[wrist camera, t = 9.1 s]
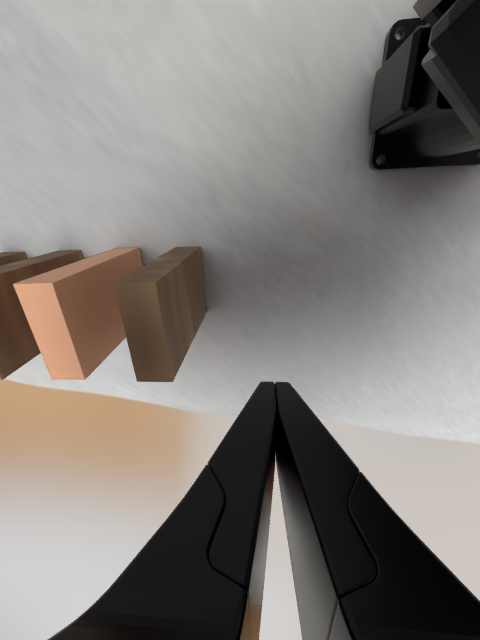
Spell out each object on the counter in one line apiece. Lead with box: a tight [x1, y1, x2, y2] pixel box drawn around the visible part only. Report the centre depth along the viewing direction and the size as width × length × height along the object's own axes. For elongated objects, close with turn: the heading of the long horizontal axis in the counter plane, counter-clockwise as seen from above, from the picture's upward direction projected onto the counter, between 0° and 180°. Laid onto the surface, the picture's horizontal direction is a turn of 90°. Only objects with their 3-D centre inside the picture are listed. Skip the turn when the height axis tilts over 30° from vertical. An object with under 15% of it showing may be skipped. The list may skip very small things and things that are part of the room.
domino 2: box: [13, 247, 143, 380], centre depth 17 cm, size 2×5×9 cm, turn 3°
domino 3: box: [114, 247, 207, 382], centre depth 16 cm, size 2×5×9 cm, turn 2°
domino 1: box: [0, 250, 84, 380], centre depth 17 cm, size 2×5×9 cm, turn 2°
